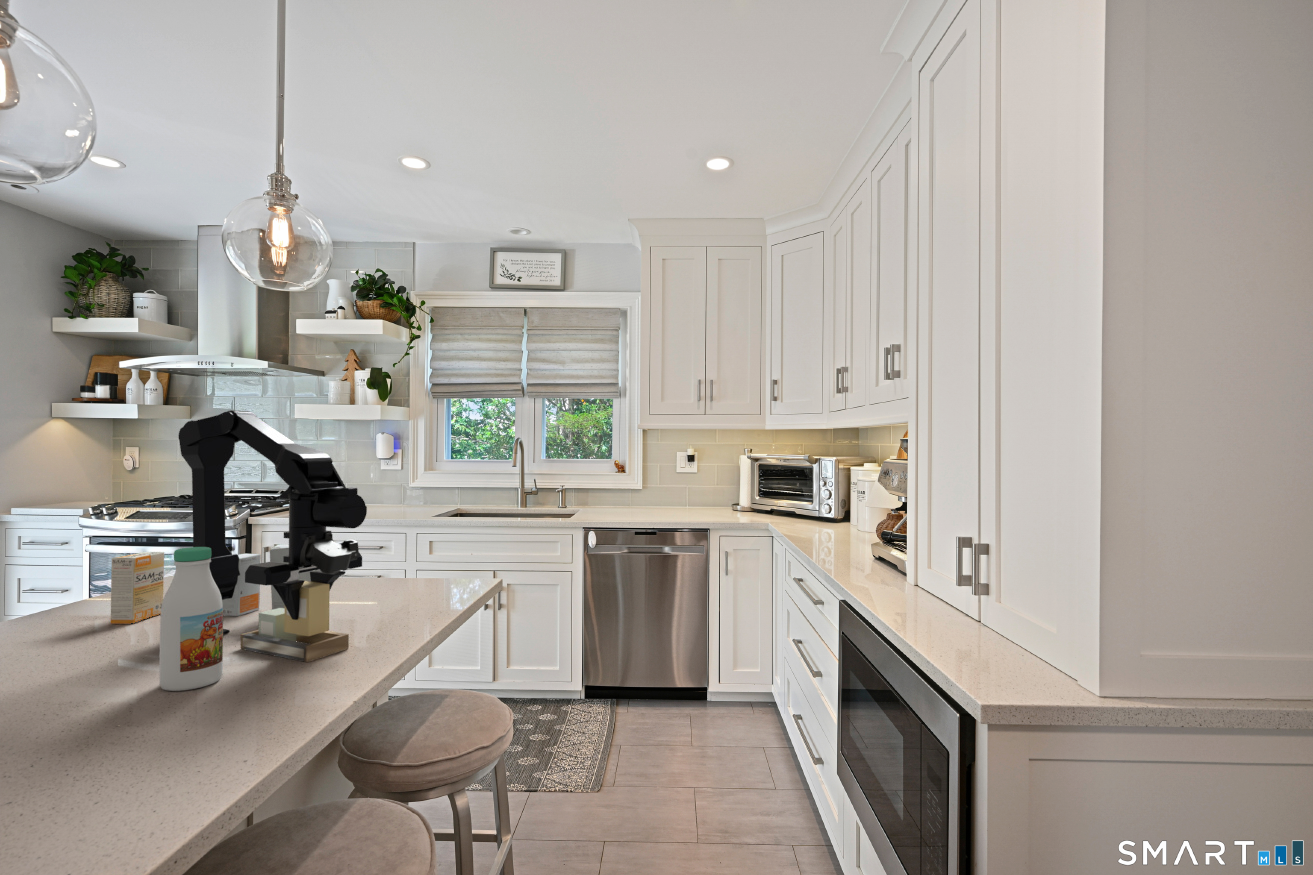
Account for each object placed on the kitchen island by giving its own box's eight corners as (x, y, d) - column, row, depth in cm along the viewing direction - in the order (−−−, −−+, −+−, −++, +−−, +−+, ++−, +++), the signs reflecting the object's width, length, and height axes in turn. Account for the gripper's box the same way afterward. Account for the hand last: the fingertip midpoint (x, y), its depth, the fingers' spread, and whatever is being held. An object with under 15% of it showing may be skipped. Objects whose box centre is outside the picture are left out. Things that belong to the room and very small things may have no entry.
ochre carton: (308, 636, 112) (308, 588, 112) (283, 631, 114) (284, 585, 114) (329, 630, 116) (329, 583, 116) (305, 626, 118) (305, 580, 118)
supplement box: (133, 624, 131) (134, 557, 131) (109, 624, 131) (110, 557, 131) (165, 613, 140) (165, 550, 140) (142, 613, 140) (142, 550, 140)
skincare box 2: (322, 611, 142) (322, 541, 142) (314, 618, 136) (314, 545, 136) (278, 613, 140) (279, 542, 140) (268, 621, 134) (269, 546, 134)
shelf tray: (239, 648, 116) (239, 634, 116) (283, 636, 123) (283, 623, 123) (306, 662, 109) (306, 647, 109) (348, 648, 116) (348, 634, 116)
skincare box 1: (237, 616, 137) (238, 558, 137) (220, 615, 138) (220, 557, 138) (261, 609, 143) (261, 553, 143) (243, 608, 144) (244, 552, 144)
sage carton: (258, 647, 117) (258, 612, 117) (279, 640, 121) (280, 607, 121) (274, 650, 115) (275, 615, 115) (296, 644, 119) (296, 610, 119)
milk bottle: (154, 695, 94) (155, 554, 94) (164, 678, 101) (166, 546, 101) (219, 686, 98) (220, 550, 98) (225, 670, 105) (226, 543, 105)
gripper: (290, 535, 103) (289, 636, 103) (384, 522, 120) (384, 609, 120) (243, 531, 108) (242, 627, 108) (340, 519, 125) (340, 602, 125)
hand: (306, 616), depth 115 cm, fingers closed on ochre carton, 4 cm apart
